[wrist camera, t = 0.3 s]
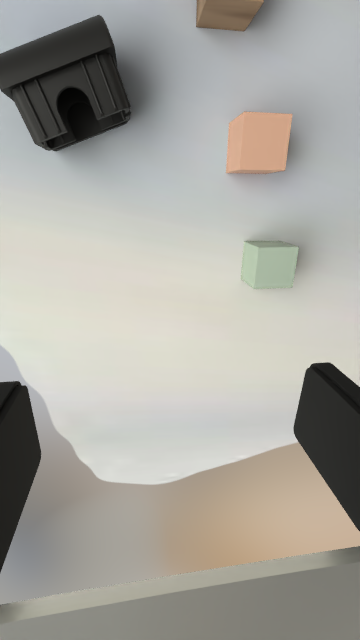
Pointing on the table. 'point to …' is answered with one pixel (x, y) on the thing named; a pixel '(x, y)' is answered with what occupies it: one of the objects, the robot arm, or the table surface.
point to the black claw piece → (66, 84)
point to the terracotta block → (258, 143)
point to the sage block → (269, 264)
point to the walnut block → (226, 13)
